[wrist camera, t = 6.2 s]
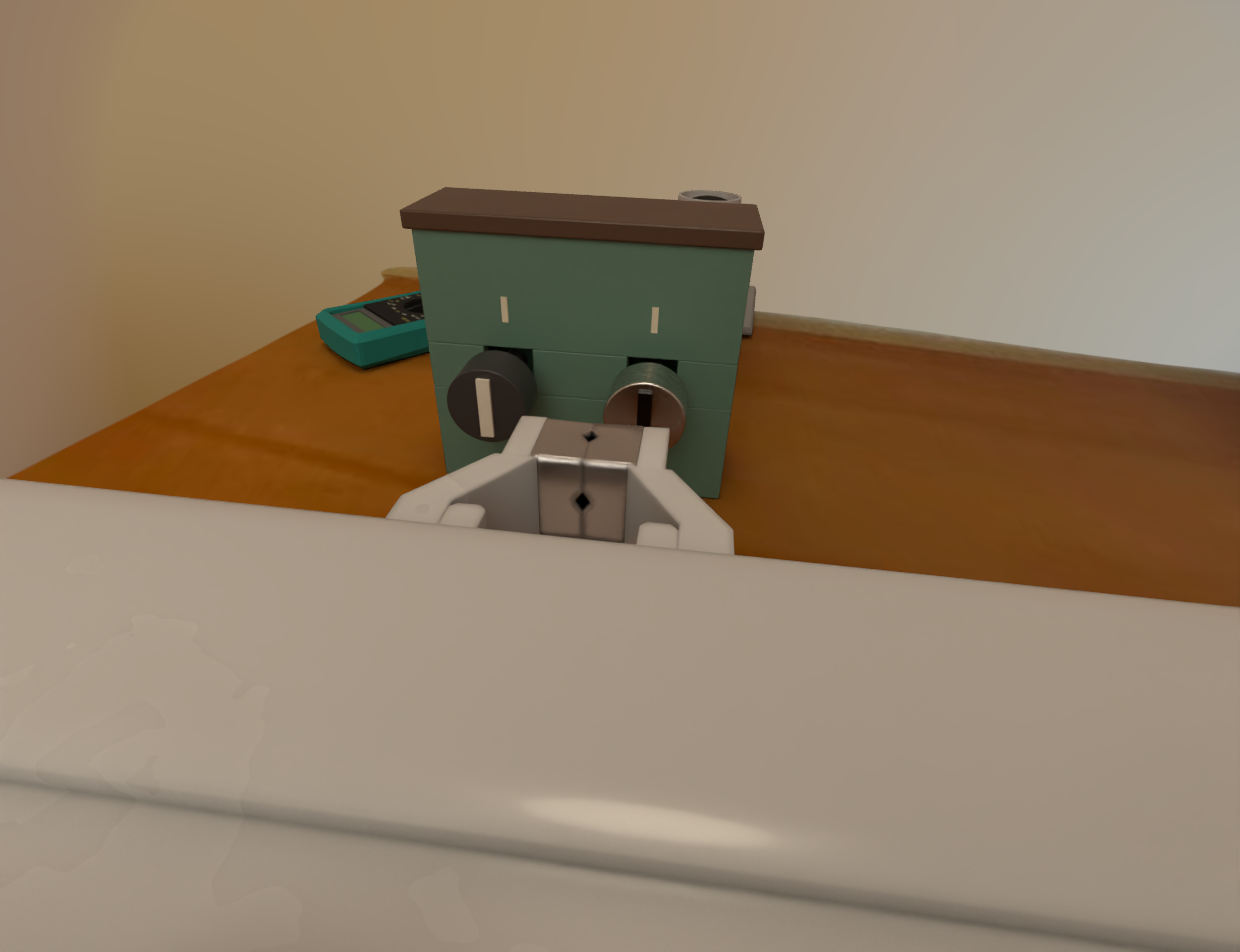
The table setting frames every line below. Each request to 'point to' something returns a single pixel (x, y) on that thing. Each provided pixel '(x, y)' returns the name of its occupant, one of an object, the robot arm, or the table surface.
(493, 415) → the black knob
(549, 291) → the console
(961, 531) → the table surface
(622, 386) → the steel knob
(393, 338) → the digital multimeter
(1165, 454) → the table surface
